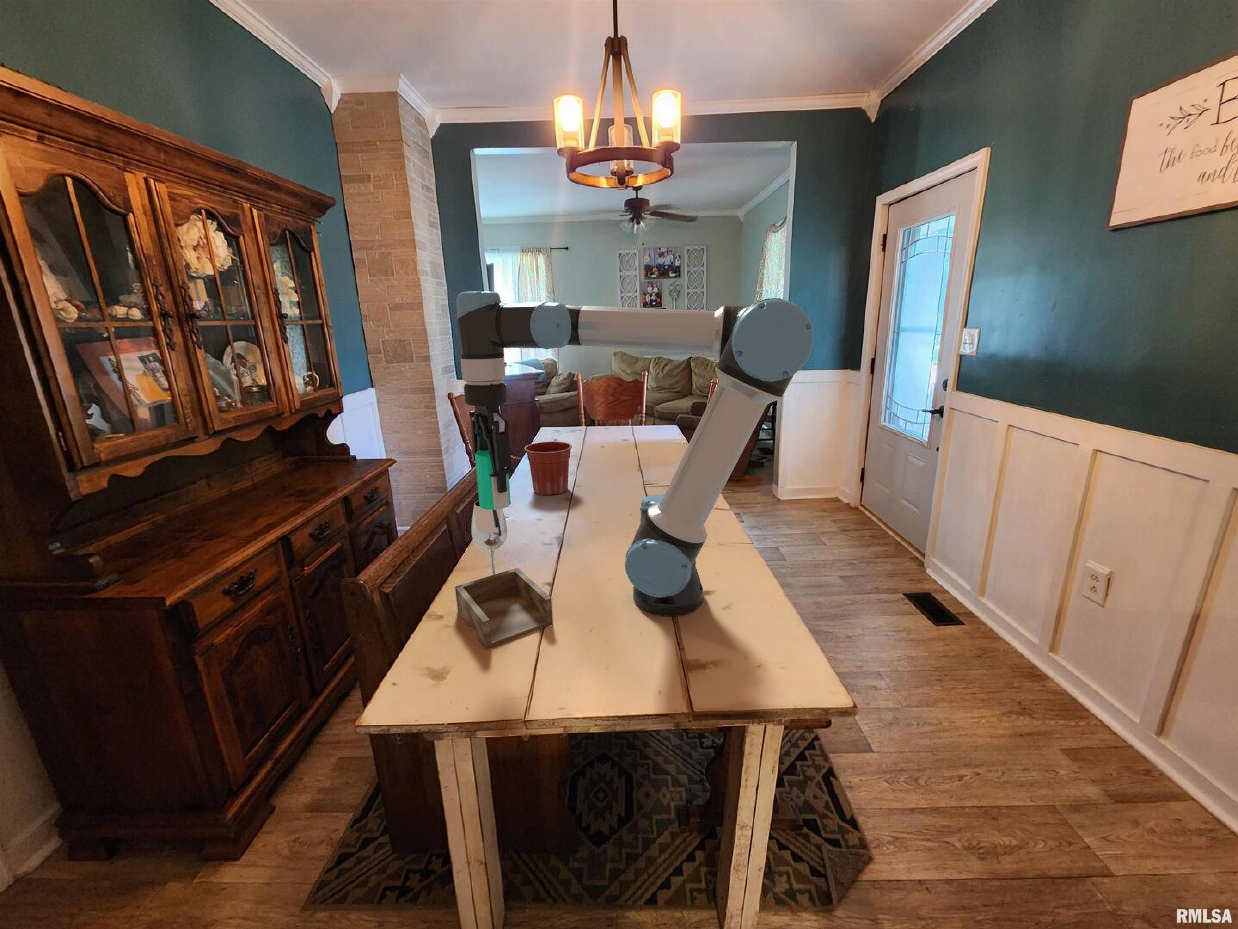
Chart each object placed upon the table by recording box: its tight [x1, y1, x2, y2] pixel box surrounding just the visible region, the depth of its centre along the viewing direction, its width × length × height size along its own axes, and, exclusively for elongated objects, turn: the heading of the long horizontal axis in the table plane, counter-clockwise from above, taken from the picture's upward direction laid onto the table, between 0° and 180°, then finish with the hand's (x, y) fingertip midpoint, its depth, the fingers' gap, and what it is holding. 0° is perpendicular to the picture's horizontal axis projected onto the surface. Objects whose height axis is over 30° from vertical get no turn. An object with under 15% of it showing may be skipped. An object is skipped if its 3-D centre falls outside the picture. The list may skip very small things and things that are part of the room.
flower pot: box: [524, 440, 573, 496], centre depth 182 cm, size 16×16×16 cm
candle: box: [475, 450, 512, 510], centre depth 98 cm, size 6×6×12 cm
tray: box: [454, 567, 554, 650], centre depth 105 cm, size 16×14×6 cm
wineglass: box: [471, 500, 508, 575], centre depth 116 cm, size 8×8×20 cm
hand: (494, 502), depth 99 cm, fingers closed on candle, 6 cm apart
